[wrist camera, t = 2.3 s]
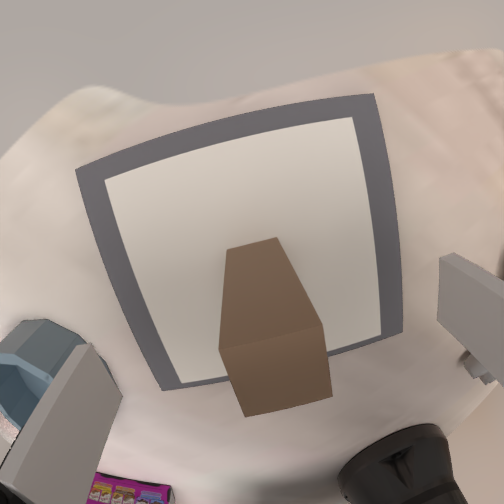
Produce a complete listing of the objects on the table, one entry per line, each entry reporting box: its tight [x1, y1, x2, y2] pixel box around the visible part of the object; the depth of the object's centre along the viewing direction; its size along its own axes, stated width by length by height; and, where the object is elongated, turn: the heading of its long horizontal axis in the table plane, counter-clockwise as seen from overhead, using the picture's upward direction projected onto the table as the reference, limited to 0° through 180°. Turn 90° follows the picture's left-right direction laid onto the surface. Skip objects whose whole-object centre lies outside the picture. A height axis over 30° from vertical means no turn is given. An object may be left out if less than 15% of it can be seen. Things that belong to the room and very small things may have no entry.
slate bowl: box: [0, 319, 116, 431], centre depth 20 cm, size 12×12×6 cm
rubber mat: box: [75, 93, 403, 391], centre depth 20 cm, size 20×18×1 cm
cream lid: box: [105, 117, 381, 417], centre depth 14 cm, size 15×15×11 cm
